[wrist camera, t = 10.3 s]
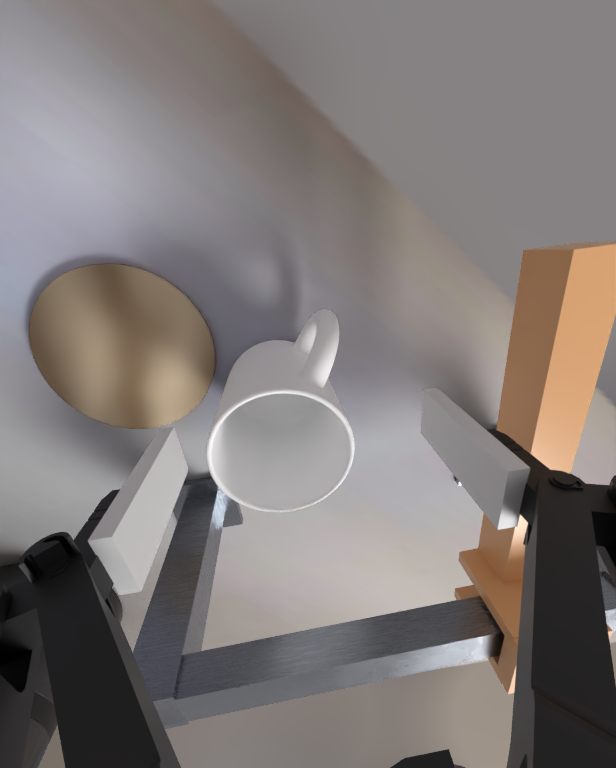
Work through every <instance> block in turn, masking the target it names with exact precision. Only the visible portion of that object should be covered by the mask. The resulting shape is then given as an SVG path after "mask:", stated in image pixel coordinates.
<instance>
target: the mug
mask: <svg viewBox="0 0 616 768" xmlns="http://www.w3.org/2000/svg"><path fill="white" fill-rule="evenodd" d="M338 342H339V323H338V319H337V317H336V316H335V314H334V313H333V312H332V311H330V310H327V309H322V310H318V311H317V312H315V313H314V314H313V315H312V316H311V317H310V318H309V319H308V321H307V322H306V324H305V325H304V327H303V329H302V330H301V332H300V334H299V336H298V338H297V340H296V342H295V343H294V342H290V341H285V340H270V341H265V342H262V343H259V344H257V345H254V346H253V347H251V348H249V349H248V350H247V351H245V352H244V353H243V354H242V355H241V356H240V357H239V358H238V359H237V361H236V362H235V363H234V365H233V367H232V369H231V371H230V374H229V376H228V379H227V382H226V385H225V388H224V391H223V394H222V397H221V400H220V403H219V406H218V409H217V412H216V415H215V418H214V422H213V425H212V428H211V431H210V434H209V437H208V440H207V446H206V459H207V465H208V468H209V471H210V474H211V476H212V478H213V480H214V481H215V483H216V484H217V486H218V487H219V488H220V489H221V490H222V491H223V492H224V493H225V494H226V495H227V496H228V497H230V498H231V499H233V500H234V501H236V502H237V503H240V504H242V505H244V506H246V507H249V508H252V509H256V510H260V511H266V512H288V511H294V510H299V509H302V508H306V507H308V506H311V505H313V504H315V503H317V502H319V501H321V500H323V499H324V498H326V497H327V496H329V495H330V494H331V493H332V492H333V491H335V489H336V488H337V487H338V486H339V485H340V484H341V483H342V482H343V480H344V479H345V477H346V476H347V474H348V472H349V470H350V467H351V465H352V461H353V457H354V449H355V445H354V437H353V432H352V430H351V427H350V425H349V422H348V420H347V418H346V416H345V414H344V411H343V409H342V407H341V405H340V403H339V400H338V398H337V396H336V394H335V392H334V390H333V387H332V385H331V383H330V381H329V379H328V377H329V374H330V371H331V369H332V366H333V363H334V360H335V356H336V353H337V348H338Z"/></svg>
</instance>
